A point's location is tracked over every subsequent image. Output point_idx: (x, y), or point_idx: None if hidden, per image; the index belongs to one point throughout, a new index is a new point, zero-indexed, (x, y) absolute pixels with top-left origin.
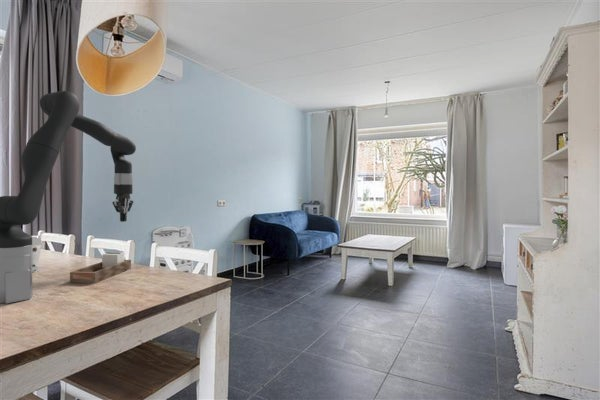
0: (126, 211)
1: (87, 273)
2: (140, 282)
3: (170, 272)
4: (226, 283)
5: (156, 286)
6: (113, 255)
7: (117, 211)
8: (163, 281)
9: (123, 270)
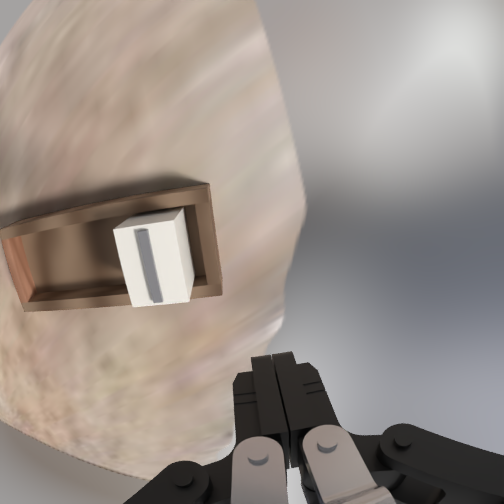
0: (311, 488)
1: (17, 287)
2: (100, 391)
3: (214, 409)
4: None
5: (98, 425)
6: (128, 286)
7: (166, 479)
8: (132, 425)
9: None
